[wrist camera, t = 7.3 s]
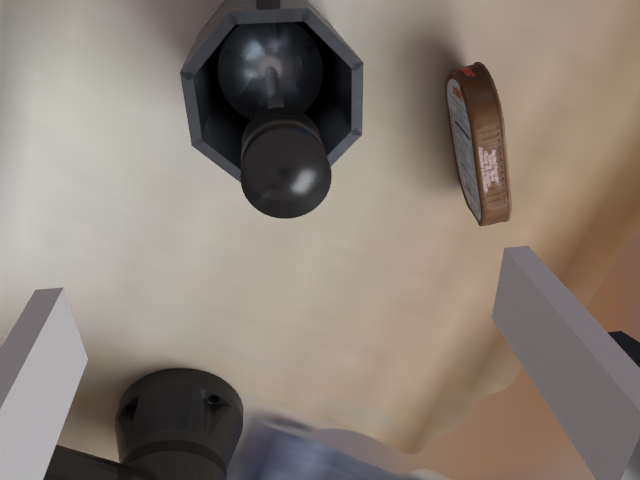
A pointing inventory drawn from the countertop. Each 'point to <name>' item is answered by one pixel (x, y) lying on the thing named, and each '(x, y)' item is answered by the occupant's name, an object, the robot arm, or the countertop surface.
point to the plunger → (276, 115)
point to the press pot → (228, 125)
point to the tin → (479, 143)
